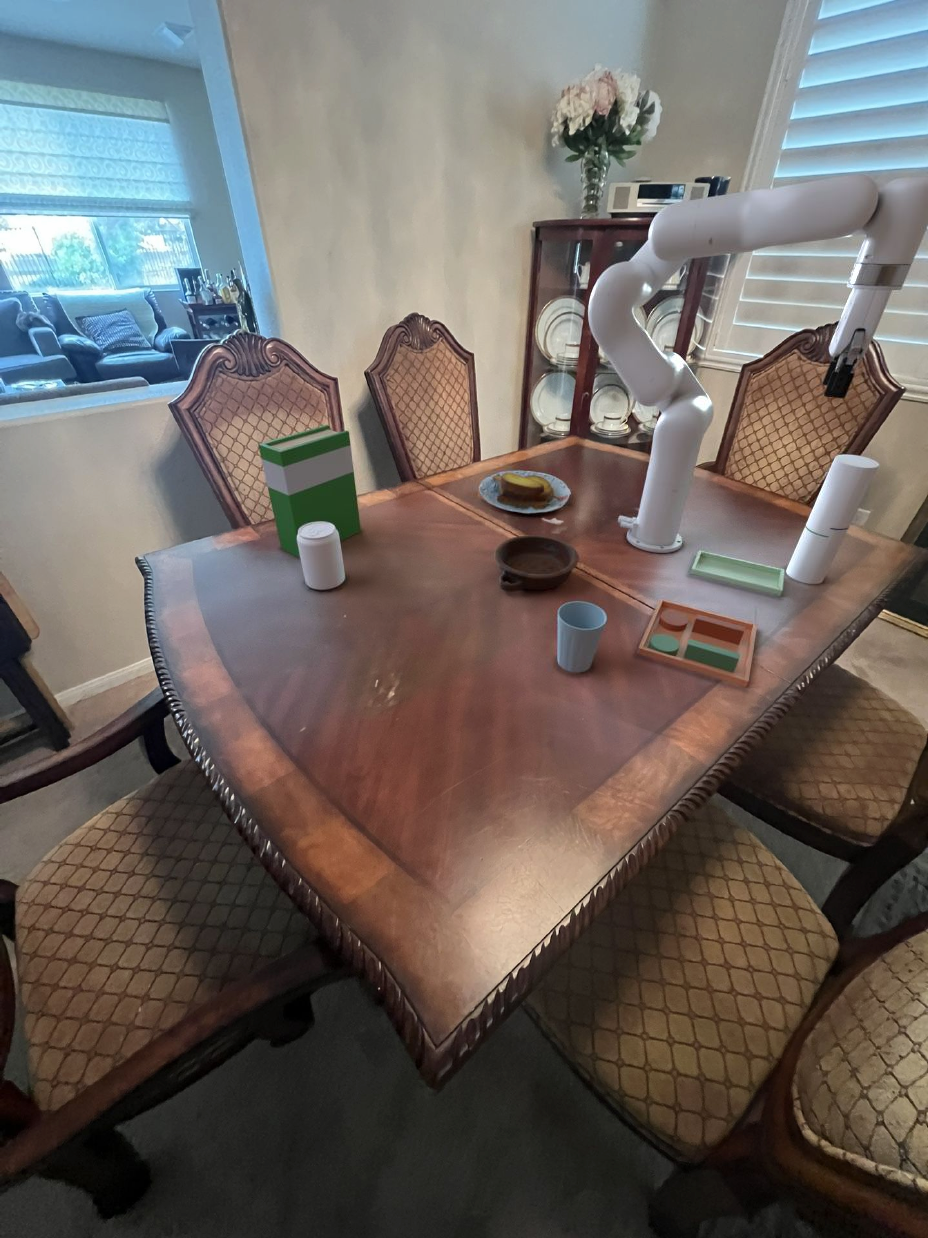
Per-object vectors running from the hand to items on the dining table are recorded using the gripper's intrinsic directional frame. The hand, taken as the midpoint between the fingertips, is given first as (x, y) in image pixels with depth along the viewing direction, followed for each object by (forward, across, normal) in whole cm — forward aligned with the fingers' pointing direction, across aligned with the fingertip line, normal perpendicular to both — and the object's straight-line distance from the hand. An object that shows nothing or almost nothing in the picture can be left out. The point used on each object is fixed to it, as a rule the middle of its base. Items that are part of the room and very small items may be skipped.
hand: (832, 391), depth 94 cm
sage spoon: (+36, +41, -9) cm, 55 cm away
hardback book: (+36, +36, -94) cm, 107 cm away
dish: (+37, +27, -43) cm, 63 cm away
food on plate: (+36, -10, -61) cm, 72 cm away
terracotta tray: (+36, +35, -9) cm, 52 cm away
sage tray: (+36, +7, -5) cm, 38 cm away
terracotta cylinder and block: (+36, +32, -8) cm, 49 cm away
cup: (+37, +51, -27) cm, 68 cm away
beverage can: (+36, +50, -81) cm, 102 cm away
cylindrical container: (+37, 0, +8) cm, 38 cm away
